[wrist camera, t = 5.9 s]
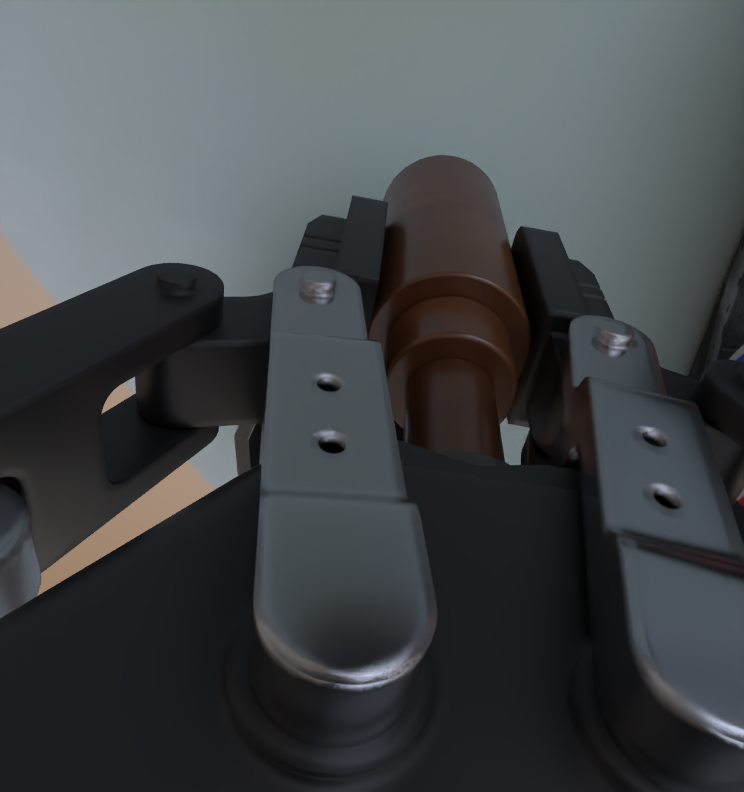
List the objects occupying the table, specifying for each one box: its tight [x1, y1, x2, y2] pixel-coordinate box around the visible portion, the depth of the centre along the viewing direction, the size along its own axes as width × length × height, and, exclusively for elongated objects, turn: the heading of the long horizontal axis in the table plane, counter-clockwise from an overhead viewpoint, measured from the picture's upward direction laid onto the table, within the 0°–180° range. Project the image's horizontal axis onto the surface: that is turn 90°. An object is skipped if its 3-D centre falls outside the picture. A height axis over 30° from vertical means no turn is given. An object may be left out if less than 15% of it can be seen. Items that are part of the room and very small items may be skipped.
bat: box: [368, 155, 532, 466], centre depth 12 cm, size 3×3×10 cm
